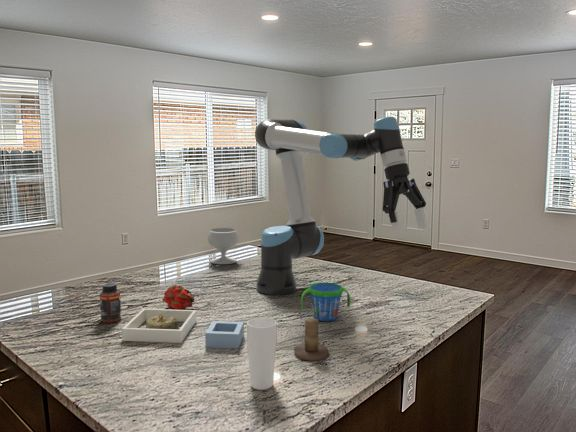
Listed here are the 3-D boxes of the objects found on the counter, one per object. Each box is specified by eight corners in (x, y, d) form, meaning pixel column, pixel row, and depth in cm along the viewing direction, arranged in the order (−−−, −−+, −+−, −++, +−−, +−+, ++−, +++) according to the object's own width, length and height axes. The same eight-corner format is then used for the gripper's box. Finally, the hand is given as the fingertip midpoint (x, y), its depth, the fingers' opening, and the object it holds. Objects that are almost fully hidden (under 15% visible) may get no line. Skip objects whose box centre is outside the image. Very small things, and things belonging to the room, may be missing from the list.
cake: (174, 339, 138) (173, 322, 137) (139, 339, 139) (138, 322, 137) (182, 324, 148) (181, 307, 147) (149, 324, 148) (148, 307, 147)
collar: (212, 334, 141) (212, 321, 140) (243, 335, 140) (243, 322, 139) (205, 347, 132) (205, 333, 131) (238, 348, 131) (238, 334, 131)
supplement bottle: (125, 318, 153) (124, 283, 151) (113, 324, 147) (111, 288, 146) (109, 315, 155) (108, 281, 153) (96, 322, 149) (95, 286, 148)
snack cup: (300, 323, 150) (301, 291, 148) (300, 311, 160) (300, 281, 159) (351, 324, 150) (352, 292, 148) (348, 312, 160) (348, 282, 159)
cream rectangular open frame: (143, 319, 152) (143, 308, 151) (196, 321, 151) (196, 310, 150) (122, 340, 135) (121, 328, 135) (181, 342, 134) (181, 330, 134)
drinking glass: (246, 378, 114) (246, 317, 112) (275, 377, 115) (276, 316, 113) (246, 393, 108) (246, 328, 106) (277, 392, 108) (278, 327, 106)
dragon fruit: (165, 309, 166) (193, 320, 161) (152, 301, 159) (180, 312, 153) (177, 286, 169) (204, 297, 163) (164, 277, 162) (193, 288, 156)
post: (295, 345, 133) (295, 314, 132) (328, 347, 133) (328, 315, 131) (293, 360, 124) (293, 326, 123) (328, 361, 124) (329, 327, 122)
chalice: (203, 264, 220) (203, 232, 218) (213, 257, 234) (213, 226, 232) (234, 266, 218) (233, 233, 216) (242, 259, 232) (242, 228, 229)
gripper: (380, 162, 145) (396, 232, 143) (427, 161, 161) (442, 224, 159) (361, 169, 150) (377, 237, 148) (408, 167, 167) (422, 228, 165)
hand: (410, 230), depth 154 cm, fingers open, 13 cm apart
